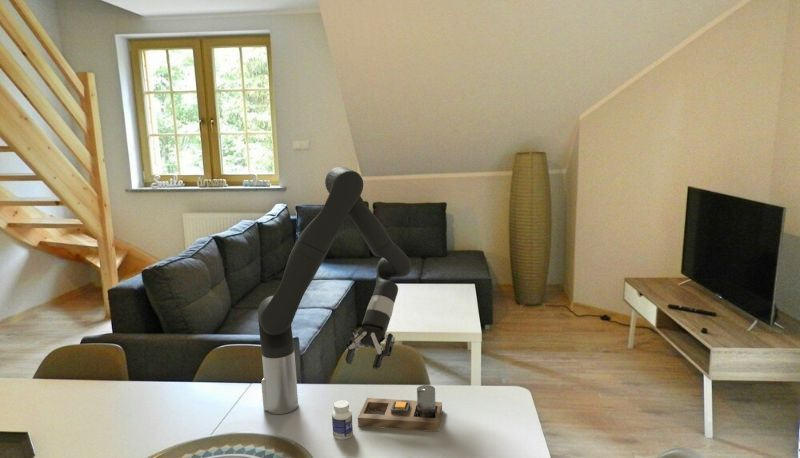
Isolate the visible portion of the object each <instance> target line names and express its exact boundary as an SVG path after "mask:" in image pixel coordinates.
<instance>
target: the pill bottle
mask: <svg viewBox="0 0 800 458" xmlns="http://www.w3.org/2000/svg"><path fill="white" fill-rule="evenodd" d="M331 423H332V435H333V438H334V439H337V440H339V441H341V440H342V441H343V440H347V439H350V438H351V437H352V436H353V433H354V430H353V429H354V428H353V412H352V410H351V409H350V403H349V401H347V400H345V399H344V400H341V399H340V400H337V401H335V402H334V403H333V411H332V412H331Z"/></svg>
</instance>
